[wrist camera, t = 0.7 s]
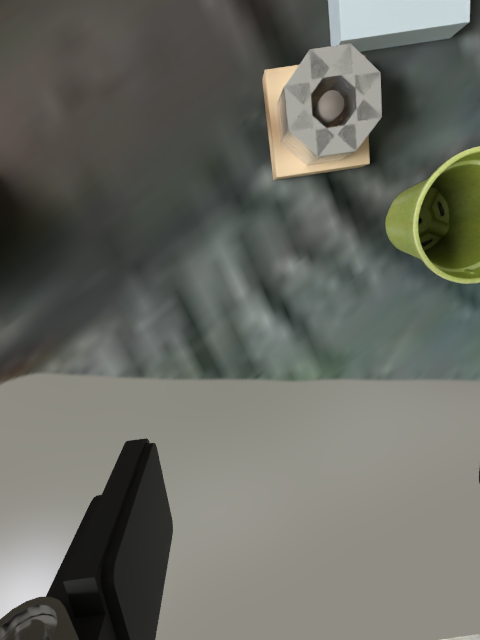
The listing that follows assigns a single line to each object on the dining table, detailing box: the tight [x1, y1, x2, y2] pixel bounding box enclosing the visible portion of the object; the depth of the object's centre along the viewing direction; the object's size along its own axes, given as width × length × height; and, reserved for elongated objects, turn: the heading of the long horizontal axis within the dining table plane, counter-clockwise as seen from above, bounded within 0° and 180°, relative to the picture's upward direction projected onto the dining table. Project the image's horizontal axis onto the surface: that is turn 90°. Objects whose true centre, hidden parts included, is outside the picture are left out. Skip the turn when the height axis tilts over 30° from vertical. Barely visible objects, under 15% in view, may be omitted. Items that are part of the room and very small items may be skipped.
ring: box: [276, 43, 382, 166], centre depth 27 cm, size 7×7×4 cm
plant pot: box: [385, 146, 480, 284], centre depth 29 cm, size 9×9×9 cm
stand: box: [262, 55, 370, 180], centre depth 28 cm, size 8×8×6 cm
